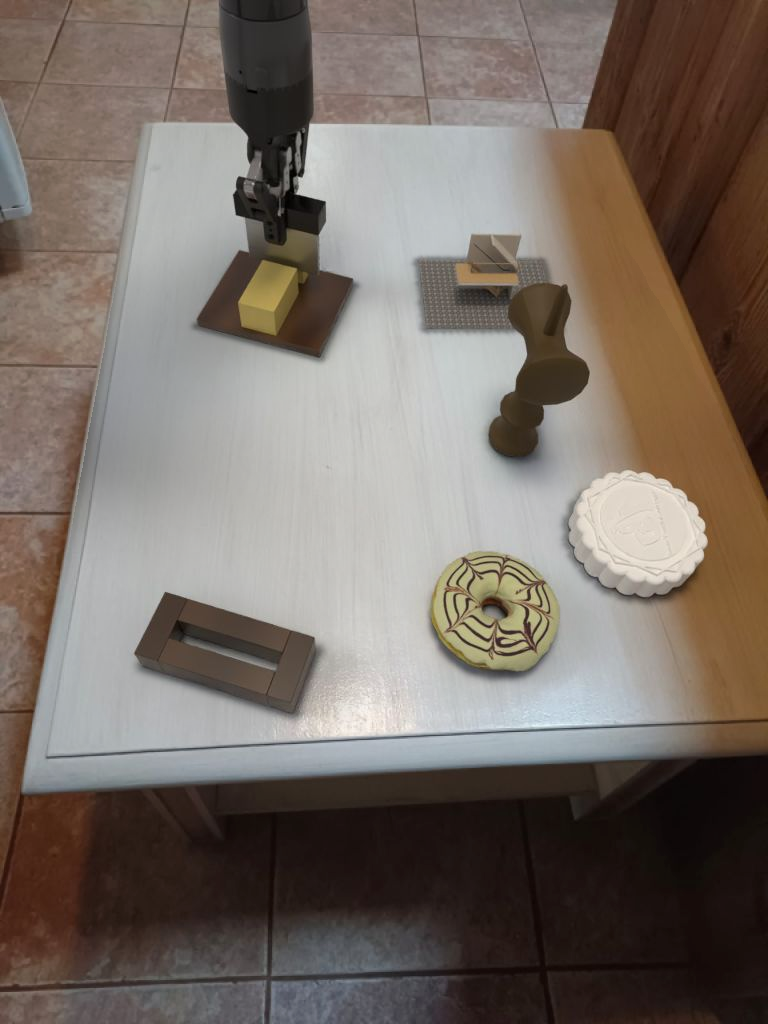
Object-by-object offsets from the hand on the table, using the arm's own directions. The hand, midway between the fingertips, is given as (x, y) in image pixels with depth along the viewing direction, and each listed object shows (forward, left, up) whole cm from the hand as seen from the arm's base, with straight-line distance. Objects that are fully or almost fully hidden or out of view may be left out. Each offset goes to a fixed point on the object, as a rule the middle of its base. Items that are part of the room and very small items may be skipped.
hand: (281, 232), depth 76 cm
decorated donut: (+31, -32, -8) cm, 45 cm away
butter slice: (0, +2, -7) cm, 7 cm away
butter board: (0, -2, -8) cm, 8 cm away
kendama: (+29, -12, -8) cm, 32 cm away
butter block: (0, -4, -7) cm, 8 cm away
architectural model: (+22, +8, -8) cm, 25 cm away
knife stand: (+11, -42, -8) cm, 44 cm away
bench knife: (0, 0, -4) cm, 4 cm away
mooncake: (+42, -20, -8) cm, 47 cm away
